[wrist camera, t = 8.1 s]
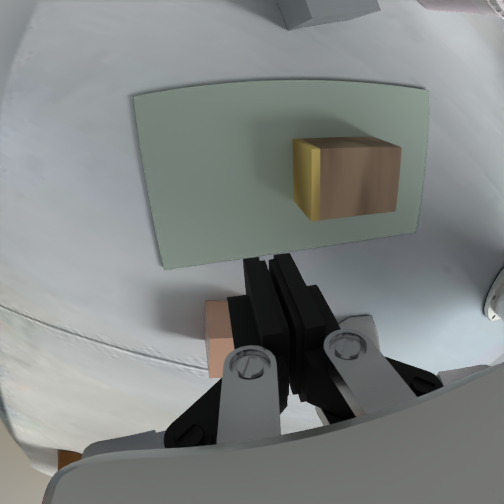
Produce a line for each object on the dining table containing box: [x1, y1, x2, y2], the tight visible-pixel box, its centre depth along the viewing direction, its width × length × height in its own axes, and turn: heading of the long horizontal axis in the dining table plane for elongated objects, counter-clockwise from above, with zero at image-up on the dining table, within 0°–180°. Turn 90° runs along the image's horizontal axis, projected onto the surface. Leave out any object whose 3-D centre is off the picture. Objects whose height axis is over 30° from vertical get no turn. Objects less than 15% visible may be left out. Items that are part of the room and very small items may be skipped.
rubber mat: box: [133, 80, 429, 270], centre depth 24 cm, size 24×14×1 cm, turn 94°
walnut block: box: [292, 137, 402, 222], centre depth 22 cm, size 4×5×7 cm
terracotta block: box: [205, 301, 234, 378], centre depth 28 cm, size 5×5×5 cm
